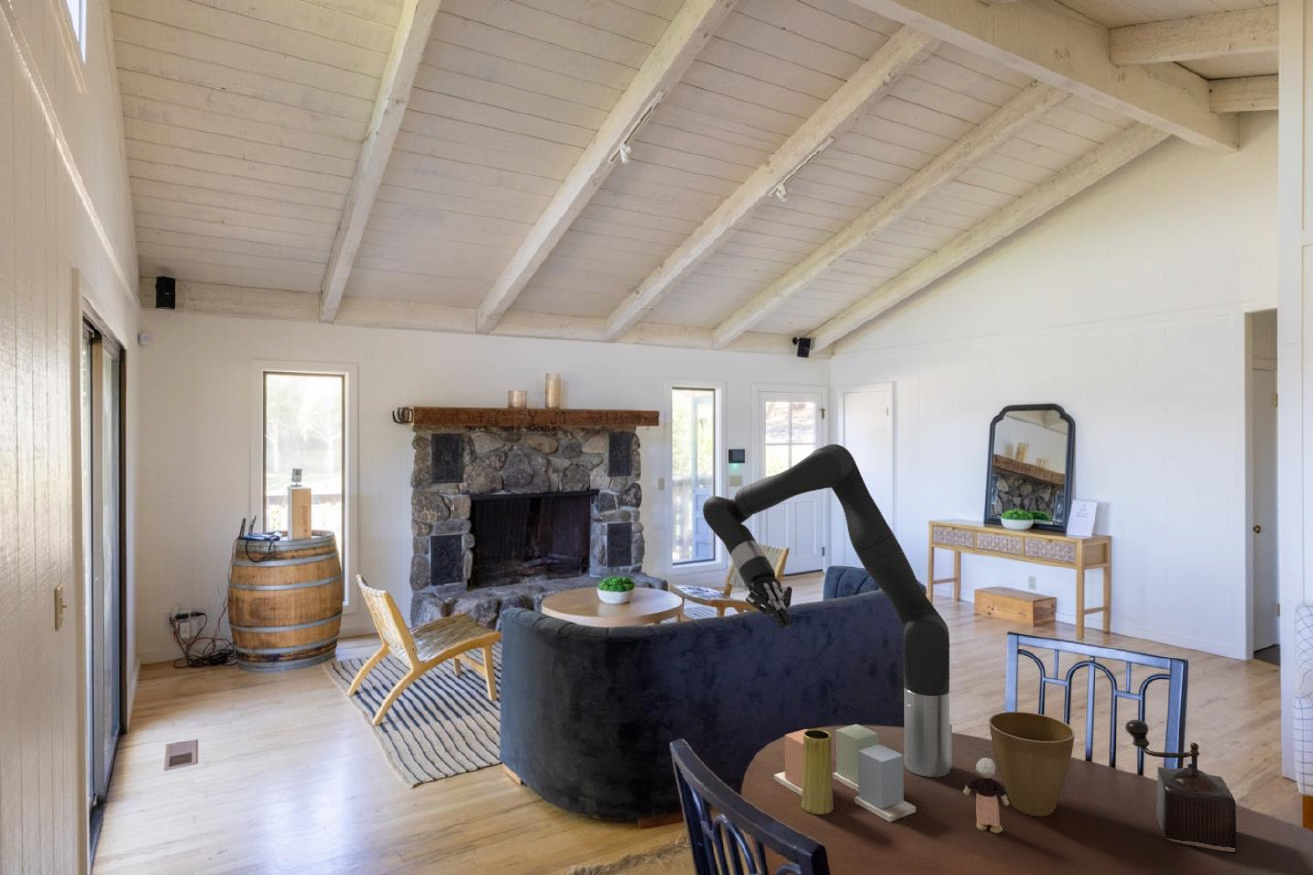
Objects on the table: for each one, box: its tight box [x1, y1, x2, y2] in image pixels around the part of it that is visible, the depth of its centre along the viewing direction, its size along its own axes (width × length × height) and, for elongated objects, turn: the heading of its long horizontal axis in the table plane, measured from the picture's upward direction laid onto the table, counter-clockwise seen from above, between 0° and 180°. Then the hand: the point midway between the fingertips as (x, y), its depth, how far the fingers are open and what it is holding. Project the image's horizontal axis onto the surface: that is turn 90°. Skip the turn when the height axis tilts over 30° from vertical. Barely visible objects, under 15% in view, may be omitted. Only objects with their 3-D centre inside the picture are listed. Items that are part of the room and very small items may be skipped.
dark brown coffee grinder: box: [1125, 719, 1237, 849], centre depth 138 cm, size 16×11×18 cm
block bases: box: [773, 770, 917, 823], centre depth 152 cm, size 18×25×1 cm
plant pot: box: [988, 711, 1076, 817], centre depth 146 cm, size 15×15×16 cm
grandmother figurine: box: [962, 757, 1010, 834], centre depth 139 cm, size 8×4×13 cm, turn 71°
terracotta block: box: [784, 728, 809, 788], centre depth 155 cm, size 6×6×9 cm
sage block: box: [835, 723, 879, 783], centre depth 158 cm, size 6×6×9 cm
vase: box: [800, 728, 834, 816], centre depth 146 cm, size 6×6×14 cm
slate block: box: [857, 743, 905, 809], centre depth 147 cm, size 6×6×9 cm
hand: (787, 626), depth 169 cm, fingers closed
